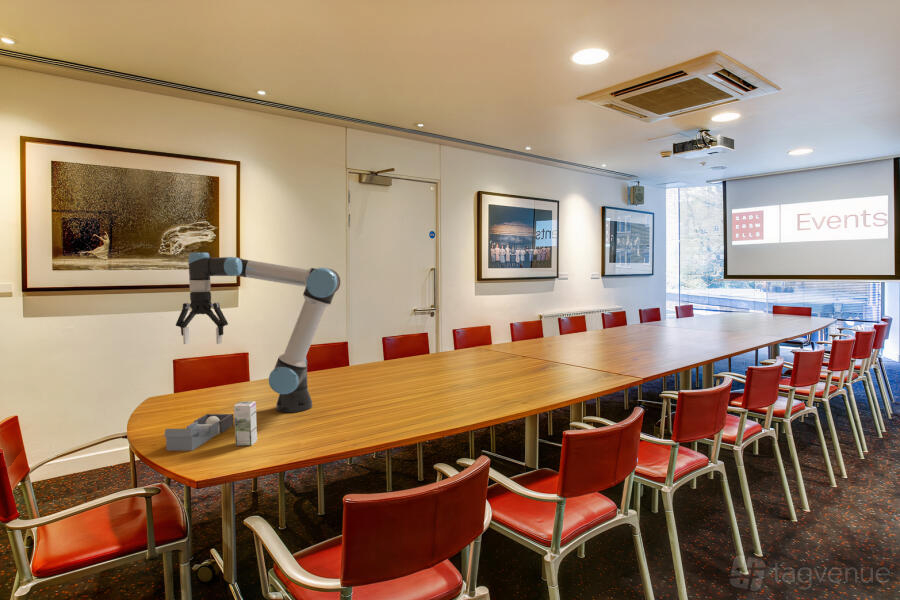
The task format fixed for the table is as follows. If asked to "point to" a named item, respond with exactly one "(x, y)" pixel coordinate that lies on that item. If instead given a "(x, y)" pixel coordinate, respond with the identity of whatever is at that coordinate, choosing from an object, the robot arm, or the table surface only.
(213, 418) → the pale rubber ball
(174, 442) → the launch ramp
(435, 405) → the table surface
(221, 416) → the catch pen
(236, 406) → the syrup box
